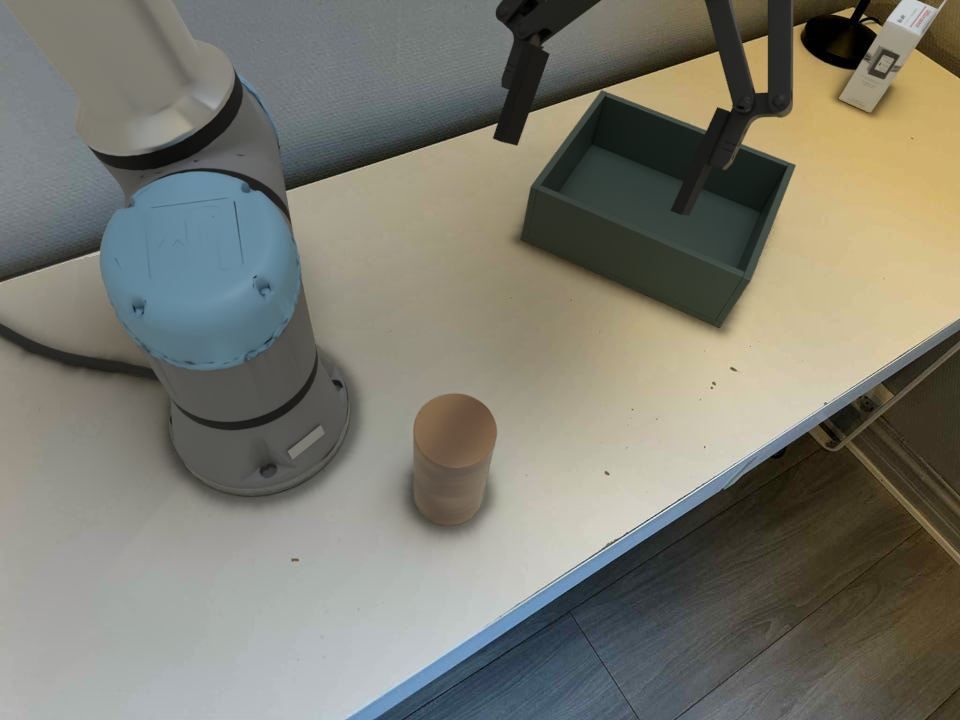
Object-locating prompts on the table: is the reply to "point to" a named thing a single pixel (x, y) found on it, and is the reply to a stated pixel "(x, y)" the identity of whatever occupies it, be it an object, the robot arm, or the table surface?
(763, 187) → the bin
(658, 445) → the table surface
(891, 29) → the ink box
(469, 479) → the cardboard tube
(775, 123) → the table surface
